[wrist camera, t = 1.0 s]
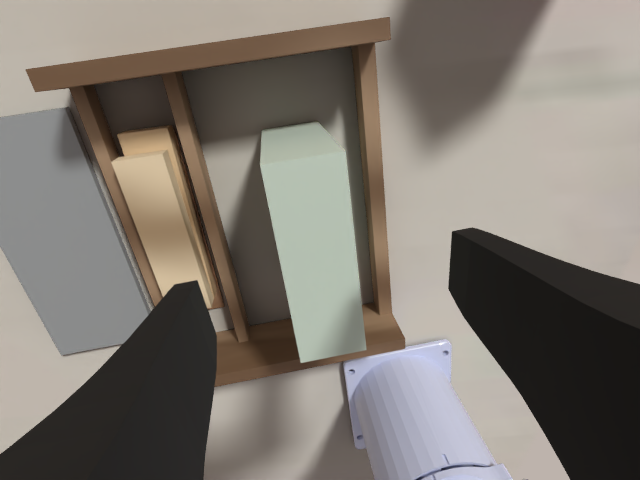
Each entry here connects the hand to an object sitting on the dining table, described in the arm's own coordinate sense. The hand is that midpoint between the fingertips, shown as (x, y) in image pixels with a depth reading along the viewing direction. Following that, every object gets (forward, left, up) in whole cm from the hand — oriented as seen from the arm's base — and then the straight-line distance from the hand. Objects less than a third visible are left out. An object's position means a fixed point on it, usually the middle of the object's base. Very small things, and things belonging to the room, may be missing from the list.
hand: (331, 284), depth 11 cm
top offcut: (-2, +7, -11) cm, 13 cm away
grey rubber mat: (-2, +14, -12) cm, 18 cm away
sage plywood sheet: (-2, 0, -12) cm, 12 cm away
